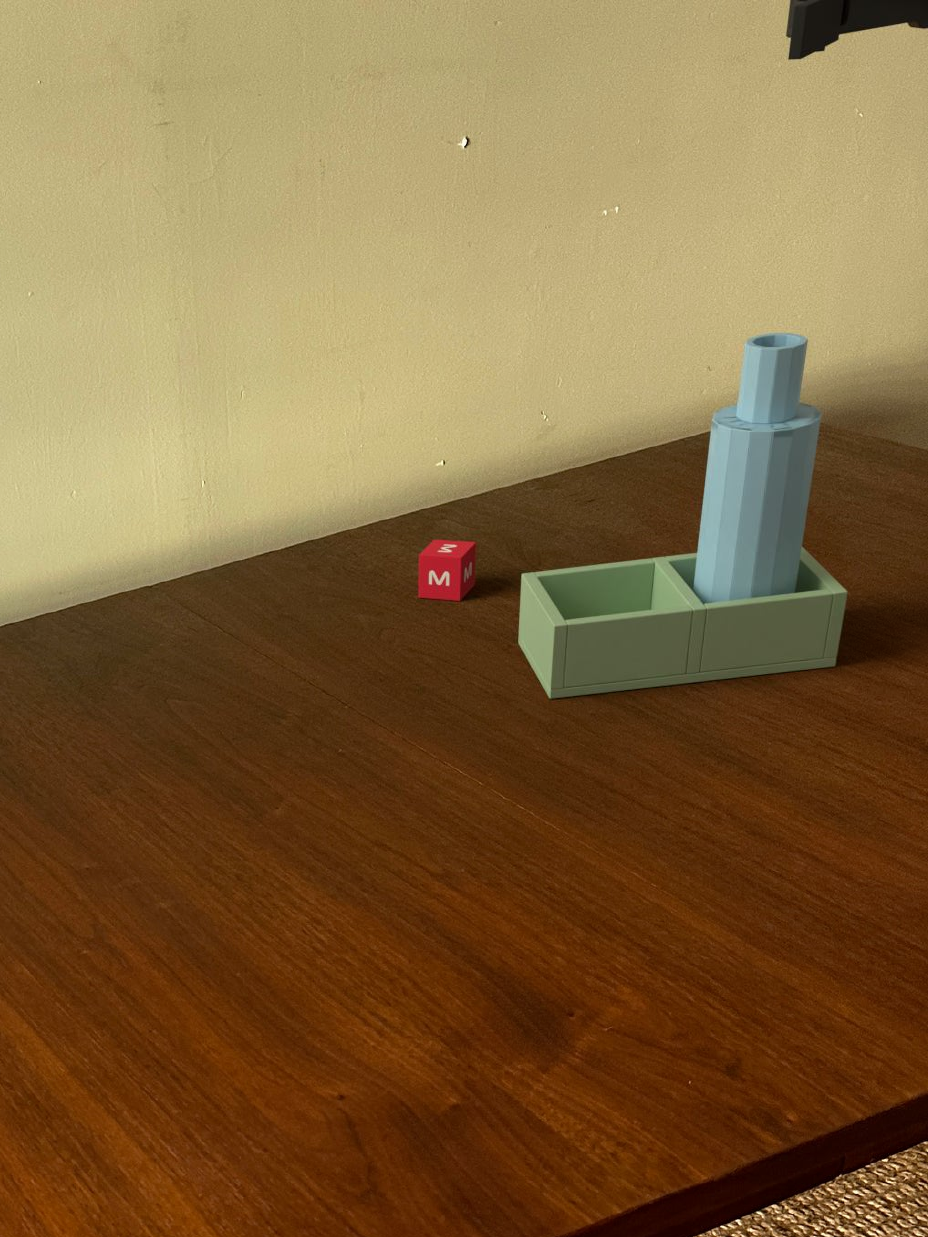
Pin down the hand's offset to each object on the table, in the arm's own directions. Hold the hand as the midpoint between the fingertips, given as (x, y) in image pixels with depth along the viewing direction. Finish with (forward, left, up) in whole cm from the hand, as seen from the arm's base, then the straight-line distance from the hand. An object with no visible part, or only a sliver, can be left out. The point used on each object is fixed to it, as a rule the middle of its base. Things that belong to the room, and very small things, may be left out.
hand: (917, 27), depth 101 cm
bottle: (+11, +14, -29) cm, 34 cm away
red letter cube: (+26, 0, -30) cm, 40 cm away
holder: (+15, +14, -30) cm, 37 cm away
